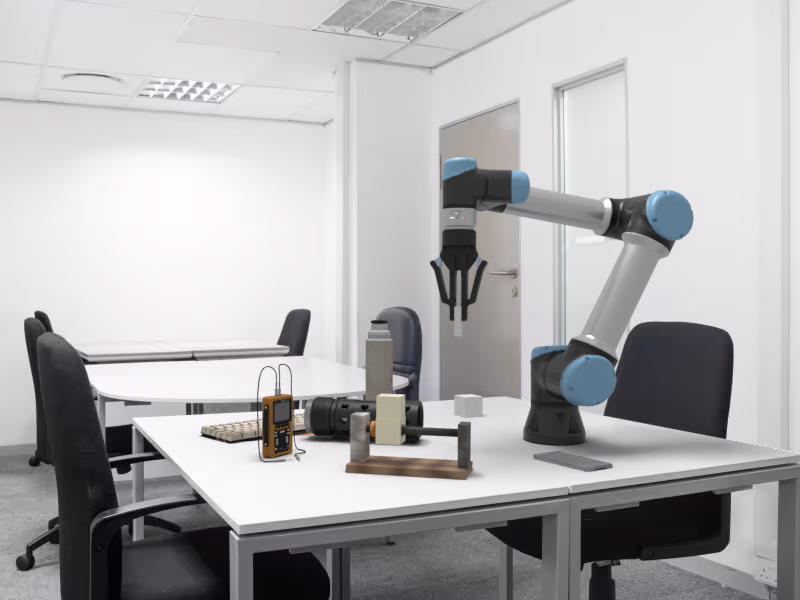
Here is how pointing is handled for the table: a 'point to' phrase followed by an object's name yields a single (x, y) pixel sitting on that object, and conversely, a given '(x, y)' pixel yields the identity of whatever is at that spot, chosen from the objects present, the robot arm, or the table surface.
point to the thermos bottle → (379, 360)
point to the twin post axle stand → (405, 465)
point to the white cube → (468, 405)
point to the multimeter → (277, 423)
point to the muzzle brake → (335, 416)
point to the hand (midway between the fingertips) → (458, 335)
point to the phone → (572, 461)
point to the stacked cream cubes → (390, 418)
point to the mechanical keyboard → (246, 430)
